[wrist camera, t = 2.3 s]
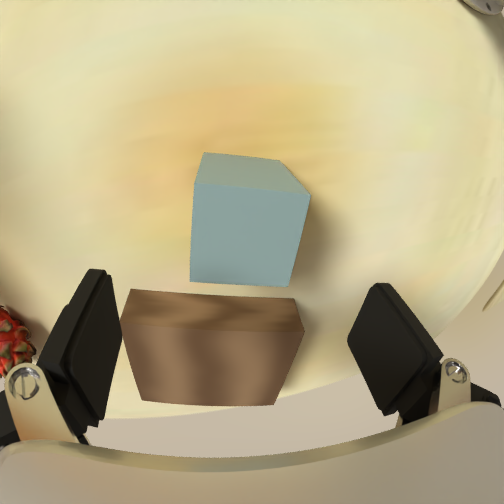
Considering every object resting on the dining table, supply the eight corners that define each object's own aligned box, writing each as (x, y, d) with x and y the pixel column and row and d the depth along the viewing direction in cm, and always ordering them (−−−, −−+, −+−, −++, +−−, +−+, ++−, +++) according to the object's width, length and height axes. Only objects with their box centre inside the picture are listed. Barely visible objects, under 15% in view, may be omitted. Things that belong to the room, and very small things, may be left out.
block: (279, 160, 18) (310, 195, 12) (267, 227, 20) (287, 286, 14) (203, 152, 17) (194, 182, 11) (197, 221, 19) (189, 281, 14)
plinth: (293, 298, 24) (304, 331, 21) (268, 376, 30) (273, 404, 27) (130, 288, 22) (119, 322, 18) (146, 370, 28) (141, 400, 24)
